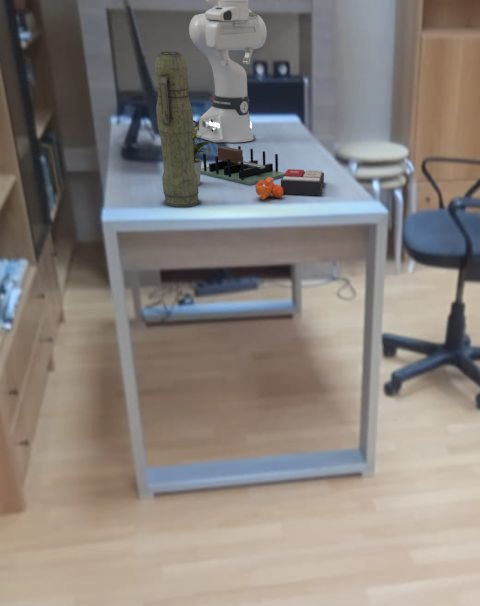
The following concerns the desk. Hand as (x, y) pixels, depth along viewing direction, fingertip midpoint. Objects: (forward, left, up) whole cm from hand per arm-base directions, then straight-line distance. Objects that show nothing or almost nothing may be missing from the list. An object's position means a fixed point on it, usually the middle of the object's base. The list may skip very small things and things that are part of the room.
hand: (235, 65), depth 234 cm
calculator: (+38, -14, -27) cm, 49 cm away
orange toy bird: (+38, -28, -27) cm, 54 cm away
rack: (+14, -14, -27) cm, 34 cm away
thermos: (+25, -48, -27) cm, 61 cm away
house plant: (+12, -34, -27) cm, 45 cm away
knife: (+14, -14, -24) cm, 31 cm away
